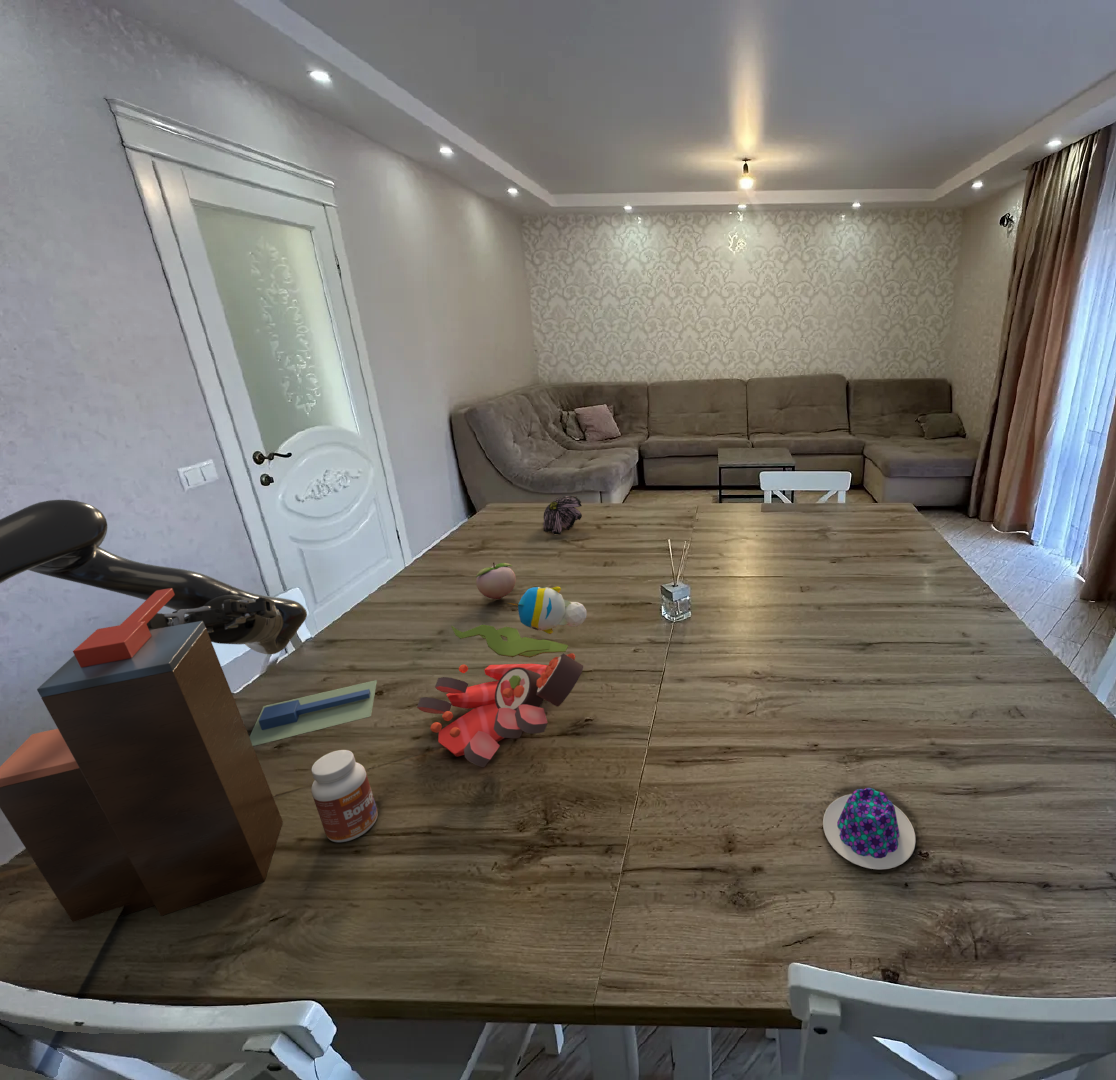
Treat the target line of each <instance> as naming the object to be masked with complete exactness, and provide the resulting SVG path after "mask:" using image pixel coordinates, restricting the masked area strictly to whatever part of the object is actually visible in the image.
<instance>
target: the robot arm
mask: <svg viewBox="0 0 1116 1080" xmlns="http://www.w3.org/2000/svg"><path fill="white" fill-rule="evenodd" d="M107 533H108V522H107V518H106V517H105V515H104V513H103V512H102V511H101V510H100V509H99V508H97V507H95V506H93V505H91V504H89V503H86V502H83V501H79V500H73V499H50V500H44V501H39V502H36V503H33V504H31V505H28V506H26V507H23V508H22V509H20V510H17V511H15V512H13V513H11V514H8V515H6V516H5V517H2V518H0V585H1V584H2V583H4V582H6V581H7V580H9V579H11V578H13V577H15V576H17V575H19V574H21V573H24V572H26V571H30V572H32V573H36V574H41V575H44V576H48V577H52V578H56V579H60V580H64V581H69V582H73V583H78V584H81V585H86V586H89V587H94V588H98V589H102V590H106V591H109V592H114V593H118V594H122V595H125V596H129V597H133V598H137V599H140V600H144V601H146V600H147V599H148V598H149V597H150V596H151V595H152V594H153V593H154V592H155V591H157V590H163V589H169V588H172V589H173V592H174V594H175V595H174V596H173V597H172V598H171V599H170V600H169V601H168V602H167V603H166V604H165V605H164V606H163V607H165V608H169V609H170V610H171V609H172V610H174V611H173V612H170V613H161V612H160V613H159V612H158V613H157V614H156V615H155V616H154V617H153V618H152V619H151V620H150V621H149V622H148V623H147V627H148V629H149V630H153V629H159V628H164V627H170V626H176V625H181V624H187V623H193V622H198V621H203V622H204V625H205V627H206V629H207V632H208V634H209V637H210V639H211V642H212V643H213V644H221V645H245V647H247V648H248V649H250V650H252V651H254V652H256V653H259V654H262V655H276V654H278V653H280V652H281V651H283V650H284V649H285V648H286V647H287V646H288V645H289V643H290V642H291V640H292V639H293V637H294V636H295V635H296V634H297V632H298V631H299V630H300V628H301V627H302V625H303V624H304V623H305V621H306V619H307V617H308V611H307V609H306V608H305V606H304V605H303V604H301V603H300V602H298V601H296V600H293V599H289V598H283V597H278V596H270V595H264V594H259V593H255V592H250V591H247V590H244V589H241V588H240V587H239V588H238V587H236V586H232V585H231V584H229V583H226V582H223V581H222V580H218V579H216V578H214V577H212V576H209V575H207V574H204V573H201V572H197V571H194V570H190V569H184V568H177V567H170V566H162V565H155V564H149V563H144V562H139V561H136V560H132V559H128V558H125V557H122V556H119V555H117V554H114V553H112V552H110V551H108V550H106V549H104V548H102V547H100V546H101V545H102V543H103V542H104V541H105V539H106V536H107ZM185 615H187V616H185Z"/></svg>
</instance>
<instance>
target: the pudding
mask: <svg viewBox="0 0 1116 1080" xmlns="http://www.w3.org/2000/svg"><path fill="white" fill-rule="evenodd" d="M822 827H823V832H824V835H825V837H826V840H827V842H828V843H829V844H830V846H831V847H832V848H833V850H835V851H836V852H837V854H838V855H840V856H841V857H843V858H844V859H845V860H847V861H849V862H851V864H854V865H857V866H860V867H863V868H866V869H869V870H870V869H871V870H872V869H873V870H889V869H892V868H897V867H899V866H900V865H902V864H904V863H905V862H906V861H908V860H909V858H910V857H911V856H912V855H913V853H914V851H915V848H916V833H915V829H914V826H913V824H912V822H911V821H910V819H909V818H908V816H907V815H906V814H905V813H904V812H903V810H901V809H900V808H899V807H898V806H896V805H895V804H893V802H892V800H890V799H889V797H888V796H887V794H886V793H884V792H883V791H878V790H876V789H875V788H872V787H865V788H858V789H855V790H854V791H853V792H852V793H848V794H845V795H842V796H840V797H838V798H836V799H835V800H833V801H832V802H831V803H829V805H828V806H827V807H826V809H825V812H824V815H823V820H822Z"/></svg>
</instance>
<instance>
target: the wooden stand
mask: <svg viewBox="0 0 1116 1080" xmlns="http://www.w3.org/2000/svg"><path fill="white" fill-rule="evenodd" d="M149 631H150V633H151V637H150V638H149V640H148V641H147V642H146V643H145V644H144V645H143V646H142V647H141V648H140V649H139V650H138V652H137V653H136V654H135V655H134V656H133V657H132V658H129V659H124V660H119V661H113V662H108V663H103V664H98V665H92V666H87V667H82V668H81V667H80V665H79V663H78V661H77V659H76V657H75V655H74V654H73V656H72V657H70V659H68V660H67V661H65V663H64V664H63V665H62V666H61V667H59V668H58V669H57V670H56V671H55V672H54V673H53V674H52V675H51V676H50V677H48V678H47V679H46V680H45V681H44V682H43V683H42V684H41V685H39V687H37V689H36V691H37V693H38V694H39V696H40V698H41V701H42V703H43V704H44V706H45V707H46V710H47V711H48V713H49V715H50V717H51V719H52V721H53V722H54V724H55V726H56V728H54V729H49V730H45V731H41V732H35V733H32V734H30V736H28V738H26V740H25V741H24V742H22V743H21V745H20V746H19V747H18V748H17V749H16V750H15V751H14V752H13V753H12V754H11V755H10V756H9V757H8V758H7V759H6V760H5V761H4V762H3V763H2V764H1V765H0V811H2V814H3V815H4V816H5V818H6V820H7V822H8V823H9V824H10V826H11V828H12V829H13V831H14V832H15V834H16V835H17V837H18V838H19V840H20V842H21V843H22V846H23V847H24V848H25V850H26V851H27V853H28V854H29V856H30V857H31V859H32V861H33V863H34V864H35V865H36V867H37V869H38V870H39V872H40V873H41V875H42V876H43V878H44V879H45V881H46V883H47V884H48V886H49V888H50V889H51V891H52V893H54V895H55V897H56V899H57V900H58V901H59V904H60V905H61V906H62V908H63V909H64V911H65V913H66V914H67V916H68V917H69V919H70V920H71V922H72V923H75V922H78V921H82V920H84V919H87V918H91V917H93V916H97V915H100V914H103V913H106V912H109V911H113V910H115V909H118V908H122V909H121V911H120V913H119V914H118V916H117V918H120V917H124V916H127V915H129V914H133V913H136V912H140V911H143V910H146V909H148V908H151V907H154V906H155V908H156V910H157V912H158V914H159V916H161V917H162V916H165V915H168V914H171V913H174V912H177V911H180V910H183V909H186V908H189V907H193V906H195V905H198V904H202V903H204V902H207V901H211V900H213V899H216V898H219V897H222V896H225V895H229V894H231V893H235V892H237V891H240V890H243V889H247V888H249V887H252V886H256V885H258V884H261V883H265V881H266V878H267V875H268V871H269V868H270V865H271V862H272V859H273V855H274V852H275V849H276V845H277V843H278V839H279V836H280V833H281V830H282V828H283V827H282V826H283V823H284V820H283V818H282V816H281V813H280V811H279V809H278V806H277V804H276V800H275V798H274V796H273V793H272V791H271V788H270V786H269V782H268V780H267V777H266V775H265V773H264V770H263V768H262V766H261V762H260V761H259V758H258V755H257V753H256V750H255V747H254V746H253V745H252V743H251V740H250V738H249V737H250V735H249V733H248V730H247V728H246V726H245V723H244V720H243V717H242V715H241V713H240V710H239V708H238V704H237V702H236V701H235V698H234V695H233V693H232V690H231V688H230V685H229V682H228V679H227V678H226V675H225V672H224V670H223V668H222V664H221V662H220V659H219V657H218V654H217V651H216V650H215V647H214V644H213V642H211V639H210V637H209V634H208V632H207V629H206V627H205V625H204V622H203V621H198V622H193V623H187V624H181V625H176V626H170V627H164V628H159V629H153V630H149Z"/></svg>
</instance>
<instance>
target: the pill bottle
mask: <svg viewBox="0 0 1116 1080" xmlns="http://www.w3.org/2000/svg"><path fill="white" fill-rule="evenodd" d="M354 755H355V754H354V753H353V752H352V751H351V750H349V749H339V750H334V751H331V752H328V753H326V754H324V755H323V756H321V757H319V758H318V759H317V760H316V761H315V762H314V763H313V764H312V766H311V774H312V778H313V782H312V784H311V788H310V789H311V790H310V791H311V796H312V799H313V801H314V802H313V803H314V805H315V807H316V810H317V814H318V817H319V819H320V822H321V825H322V829H323V831H324V833H325V835H326V837H327V839H328V840H329V841H330V842H334V843H345V842H350V841H352V840H355V839H357V838H359V837H361V836H363V835H364V834H366V833H367V832H369V830H370V829H371V828H372V827H373V826H374V825H375V823H376V822H377V819H378V815H379V813H378V812H379V811H378V808H377V803H376V801H375V797H374V794H373V791H372V788H371V785H370V782H369V781H370V780H369V778H368V774H367V772H366V771H367V770H366V768H365V767H364V765H362V764H361V763H359V762H356V758H355V756H354Z"/></svg>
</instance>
